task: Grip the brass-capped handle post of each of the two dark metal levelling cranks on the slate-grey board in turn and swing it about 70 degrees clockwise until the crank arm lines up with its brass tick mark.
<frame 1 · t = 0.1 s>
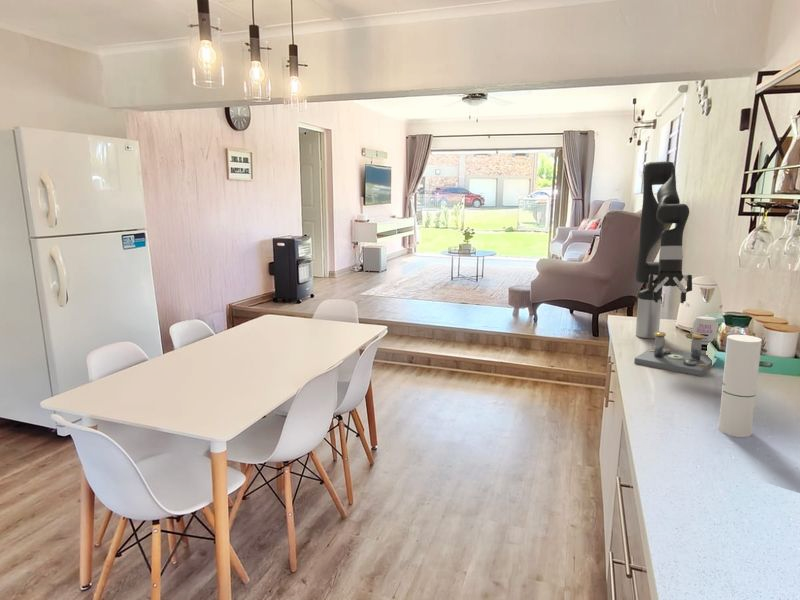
hand: (668, 302, 181), 22 cm above the table, tool pointing down, fingers open, 8 cm apart
supplement can: (702, 356, 190), on the table
crank 1: (662, 342, 186), point 7 cm above the table, hinge at 0.0°
cylindrical container: (734, 431, 128), on the table
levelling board: (675, 362, 183), on the table
crank 2: (693, 349, 176), point 7 cm above the table, hinge at 0.0°
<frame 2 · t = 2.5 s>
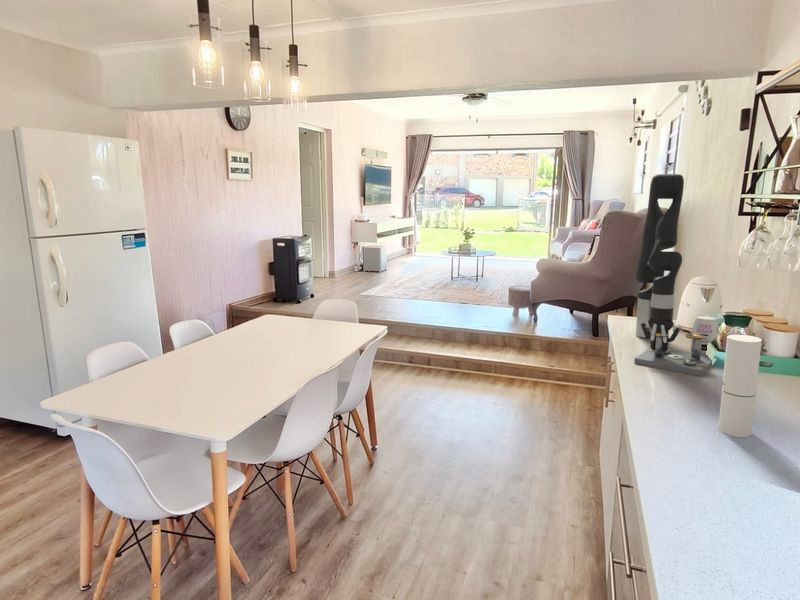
hand: (658, 350, 183), 4 cm above the table, tool pointing down, fingers closed on crank 1, 3 cm apart
crank 1: (662, 342, 186), point 7 cm above the table, hinge at 0.2°, touching gripper
everything else where it was.
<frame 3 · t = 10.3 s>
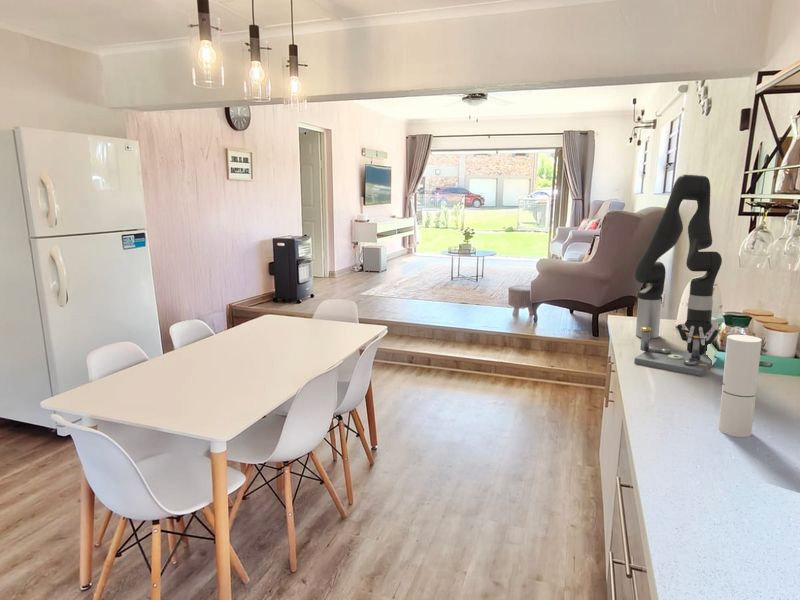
hand: (695, 353, 179), 4 cm above the table, tool pointing down, fingers closed on crank 2, 3 cm apart
crank 1: (655, 340, 189), point 7 cm above the table, hinge at -68.5°
crank 2: (693, 349, 176), point 7 cm above the table, hinge at -0.2°, touching gripper
everything else where it was.
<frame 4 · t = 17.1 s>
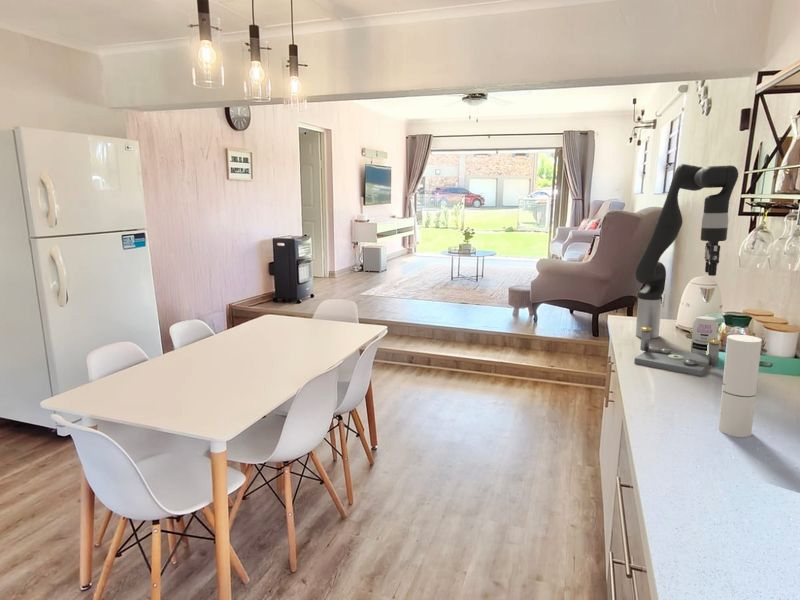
hand: (710, 274, 170), 34 cm above the table, tool pointing down, fingers open, 8 cm apart
crank 2: (701, 352, 173), point 7 cm above the table, hinge at -67.2°
everything else where it was.
at the end: crank 1 at -68° (first picture: +0°); crank 2 at -67° (first picture: +0°); the gripper is holding nothing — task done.
